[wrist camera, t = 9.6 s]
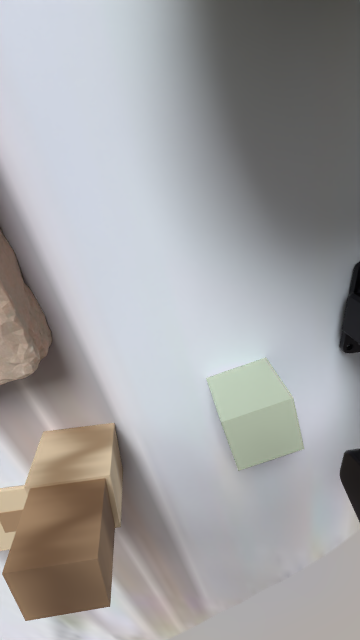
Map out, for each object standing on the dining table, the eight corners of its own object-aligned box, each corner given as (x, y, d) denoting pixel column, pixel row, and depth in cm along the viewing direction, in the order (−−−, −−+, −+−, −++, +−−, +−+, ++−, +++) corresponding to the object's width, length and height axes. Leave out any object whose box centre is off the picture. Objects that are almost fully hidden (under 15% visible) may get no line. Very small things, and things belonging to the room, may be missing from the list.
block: (265, 356, 23) (293, 397, 19) (276, 402, 25) (304, 449, 21) (206, 377, 23) (220, 422, 19) (221, 421, 25) (238, 470, 21)
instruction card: (84, 477, 25) (83, 481, 25) (98, 532, 28) (97, 536, 28) (-37, 493, 25) (-39, 497, 24) (-9, 548, 28) (-11, 553, 27)
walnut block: (105, 478, 20) (97, 558, 16) (115, 524, 22) (110, 606, 18) (30, 488, 19) (2, 573, 15) (46, 534, 21) (25, 620, 17)
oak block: (114, 422, 24) (109, 475, 20) (123, 470, 26) (120, 527, 22) (43, 431, 23) (24, 486, 19) (58, 479, 25) (43, 538, 21)
